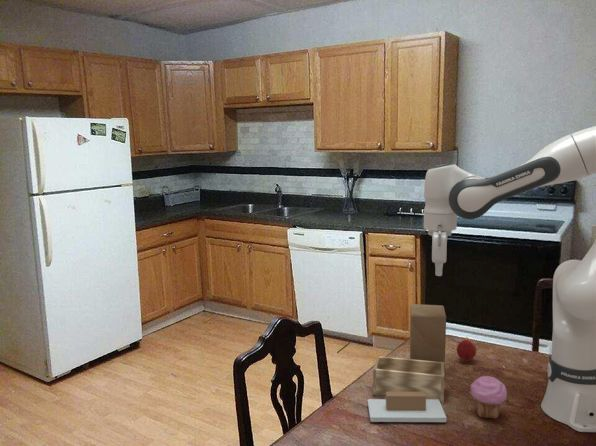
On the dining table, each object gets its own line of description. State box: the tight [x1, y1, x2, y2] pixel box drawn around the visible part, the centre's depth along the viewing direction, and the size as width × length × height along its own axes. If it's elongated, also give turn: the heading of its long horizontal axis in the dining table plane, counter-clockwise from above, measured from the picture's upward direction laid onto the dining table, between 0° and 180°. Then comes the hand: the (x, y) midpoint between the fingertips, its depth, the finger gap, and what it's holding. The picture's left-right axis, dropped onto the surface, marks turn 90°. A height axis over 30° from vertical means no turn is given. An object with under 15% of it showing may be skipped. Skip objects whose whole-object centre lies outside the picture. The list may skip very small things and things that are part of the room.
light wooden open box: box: [372, 355, 445, 405], centre depth 143 cm, size 19×9×8 cm, turn 74°
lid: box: [367, 392, 448, 423], centre depth 132 cm, size 19×9×6 cm, turn 87°
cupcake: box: [469, 375, 508, 420], centre depth 131 cm, size 9×9×10 cm
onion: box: [456, 336, 477, 362], centre depth 162 cm, size 6×6×8 cm
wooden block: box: [409, 303, 447, 379], centre depth 155 cm, size 10×10×20 cm
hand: (438, 270), depth 143 cm, fingers open, 8 cm apart
